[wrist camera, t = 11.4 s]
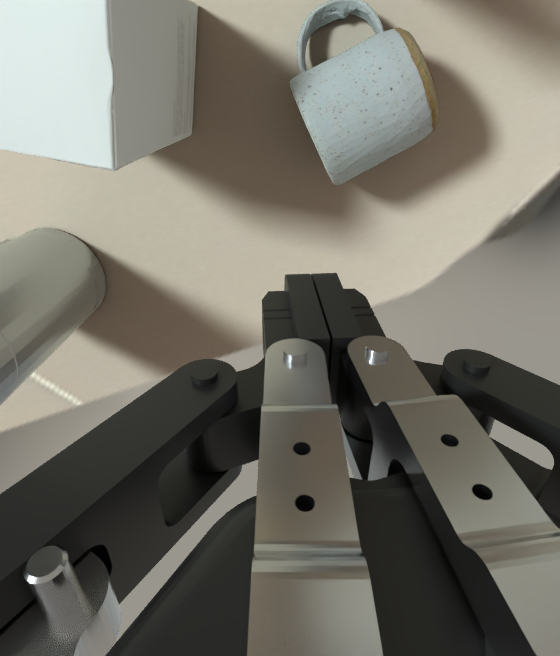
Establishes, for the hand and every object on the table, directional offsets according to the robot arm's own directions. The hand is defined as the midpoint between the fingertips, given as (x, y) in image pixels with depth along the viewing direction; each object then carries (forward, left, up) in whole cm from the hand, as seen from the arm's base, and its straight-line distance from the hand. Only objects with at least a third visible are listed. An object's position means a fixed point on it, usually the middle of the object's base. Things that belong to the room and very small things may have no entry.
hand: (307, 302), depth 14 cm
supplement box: (-14, +6, -26) cm, 31 cm away
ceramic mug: (+2, +5, -26) cm, 27 cm away
